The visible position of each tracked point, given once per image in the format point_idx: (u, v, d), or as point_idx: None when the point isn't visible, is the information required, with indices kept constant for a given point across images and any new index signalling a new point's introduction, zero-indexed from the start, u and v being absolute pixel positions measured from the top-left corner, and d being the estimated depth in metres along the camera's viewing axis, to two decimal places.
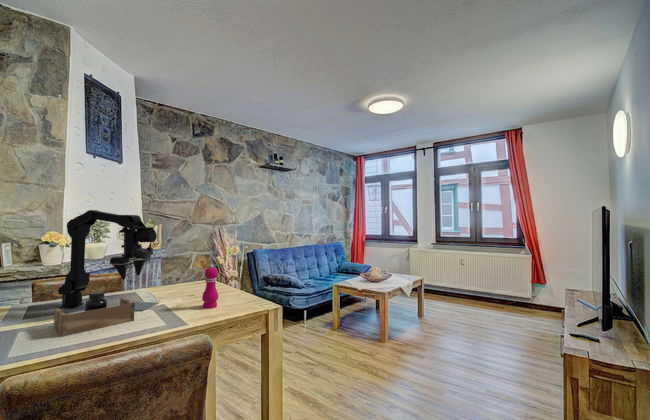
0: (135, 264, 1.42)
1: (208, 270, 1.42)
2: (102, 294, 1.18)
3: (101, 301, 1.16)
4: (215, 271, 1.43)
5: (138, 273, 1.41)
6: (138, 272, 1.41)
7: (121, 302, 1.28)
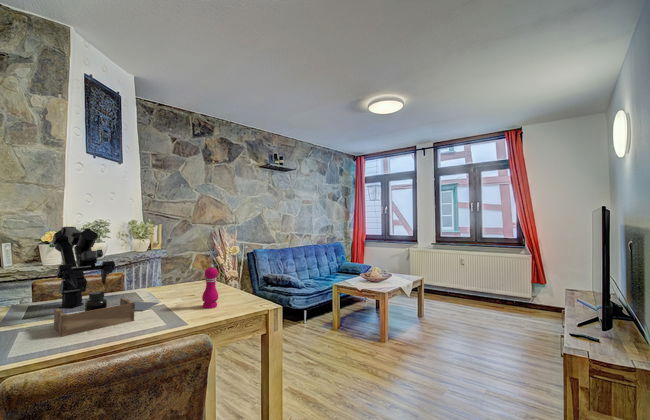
0: (101, 276, 1.29)
1: (208, 270, 1.42)
2: (102, 294, 1.18)
3: (101, 301, 1.16)
4: (215, 271, 1.43)
5: (103, 281, 1.26)
6: (103, 281, 1.27)
7: (121, 302, 1.28)
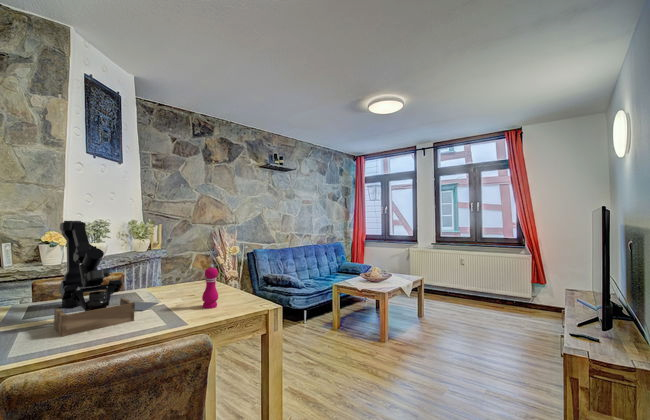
0: (105, 296, 1.23)
1: (208, 270, 1.42)
2: (102, 294, 1.18)
3: (101, 301, 1.16)
4: (215, 271, 1.43)
5: (107, 303, 1.20)
6: None
7: (121, 302, 1.28)
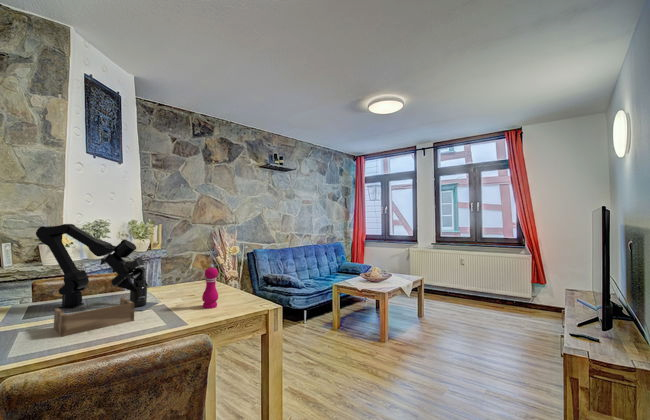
0: None
1: (208, 270, 1.42)
2: None
3: (146, 286, 1.42)
4: (215, 271, 1.43)
5: None
6: (145, 284, 1.45)
7: (121, 302, 1.28)
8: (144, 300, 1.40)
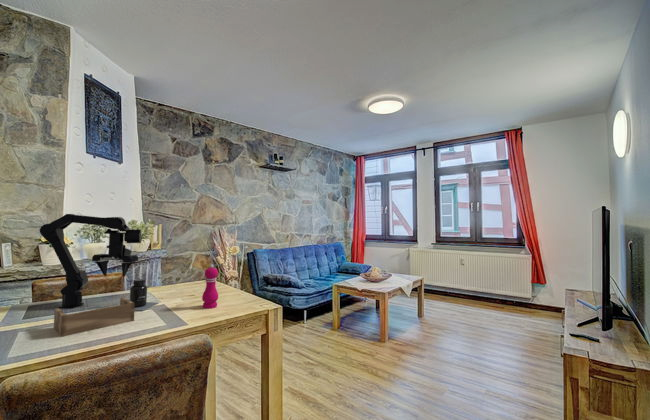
0: (102, 265, 1.43)
1: (208, 270, 1.42)
2: None
3: (146, 286, 1.42)
4: (215, 271, 1.43)
5: (105, 273, 1.44)
6: (105, 272, 1.44)
7: (121, 302, 1.28)
8: (144, 300, 1.40)
